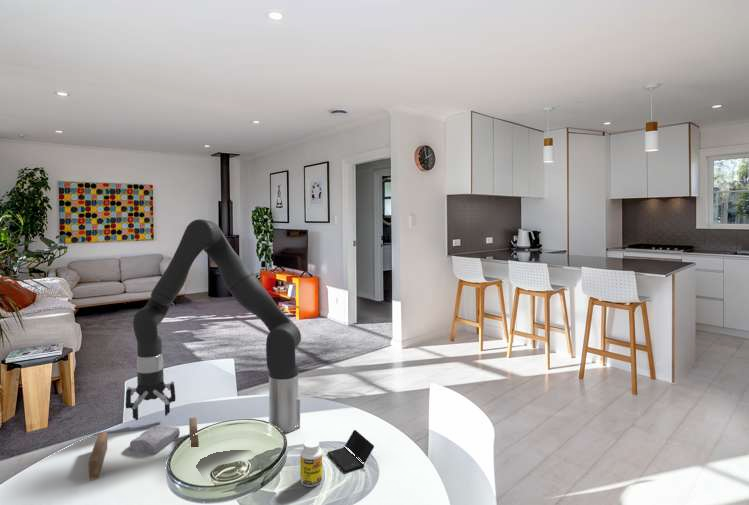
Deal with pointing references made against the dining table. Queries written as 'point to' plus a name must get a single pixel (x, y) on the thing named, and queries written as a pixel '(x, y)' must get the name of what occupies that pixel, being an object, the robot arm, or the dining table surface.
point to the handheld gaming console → (348, 460)
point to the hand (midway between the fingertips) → (151, 416)
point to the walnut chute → (101, 449)
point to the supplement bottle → (311, 464)
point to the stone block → (154, 439)
